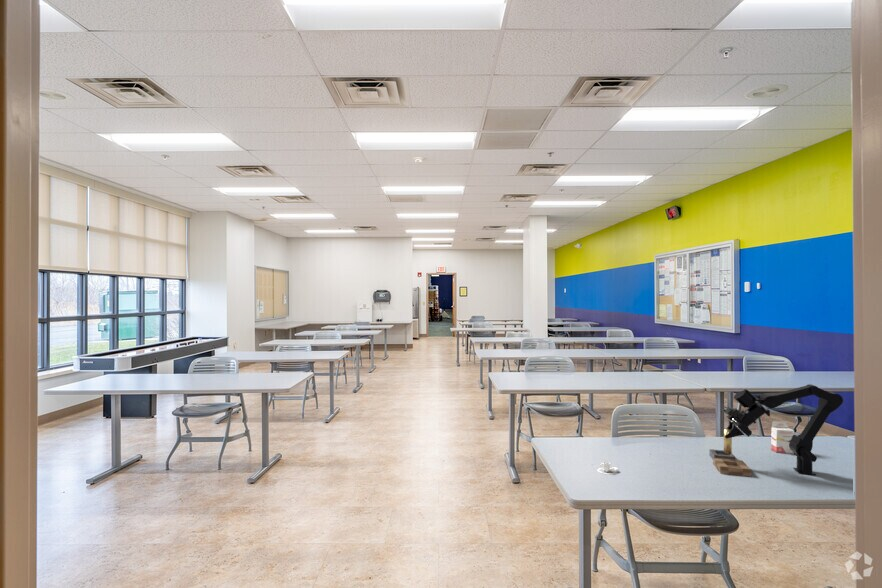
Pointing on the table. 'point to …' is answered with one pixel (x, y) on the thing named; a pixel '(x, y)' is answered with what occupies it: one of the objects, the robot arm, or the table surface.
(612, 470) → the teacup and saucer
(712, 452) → the socket block
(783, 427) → the ink cartridge box
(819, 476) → the table surface
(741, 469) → the wooden square frame
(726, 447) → the brass cylinder
